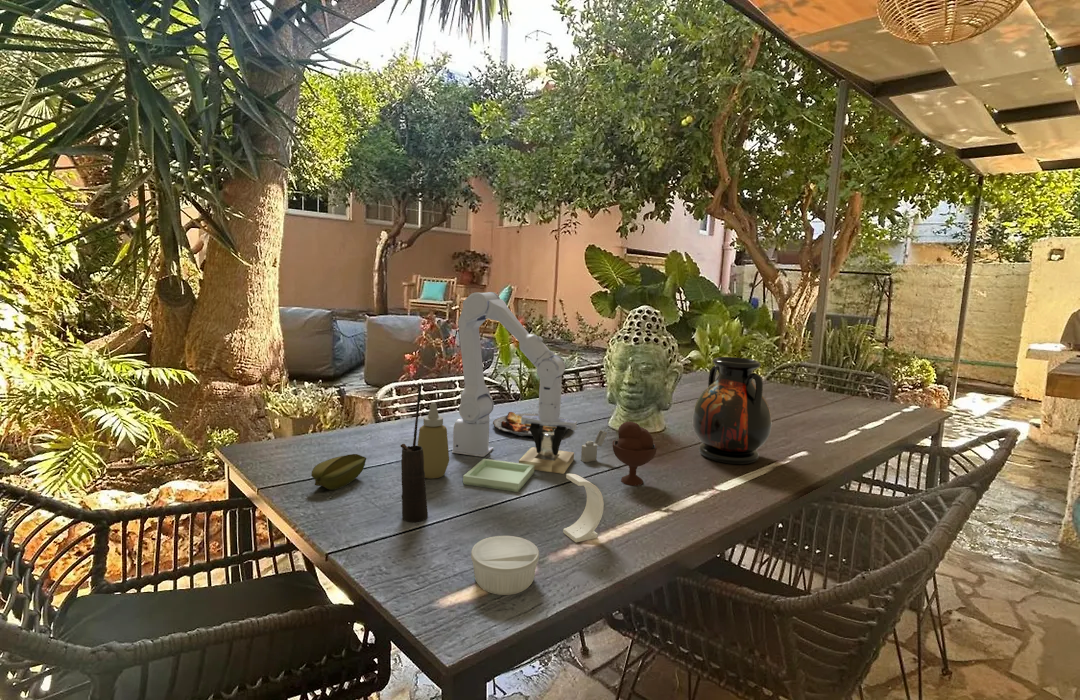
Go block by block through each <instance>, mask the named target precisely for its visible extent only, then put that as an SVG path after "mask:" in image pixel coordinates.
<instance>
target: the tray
mask: <svg viewBox="0 0 1080 700" xmlns="http://www.w3.org/2000/svg"><path fill="white" fill-rule="evenodd" d="M534 474H535V470H534V465H529V464H521V463H519V462H512V461H505V460H498V459H490V458H489V459H488V458H482V459H481V460H480V461H479V462H477V464H475V465H474V466H473V467H472V468H471V469H469V470H468V471H467V472H466V473H465V474H463V475H462V485H467V486H475V487H480V488H481V487H482V488H489V489H494V490H495V489H496V490H501V491H509V492H515V493H519V492H520V491H521V489H523V487H524V486H525V485H526V483H527V482H528V481H529V480H530V478H532V476H533V475H534Z"/></svg>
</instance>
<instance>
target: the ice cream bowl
mask: <svg viewBox="0 0 1080 700" xmlns="http://www.w3.org/2000/svg"><path fill="white" fill-rule="evenodd" d="M617 432H618V433H617V435H618V439H615V440H612V450H613V451H612V452H613V454H614V455H615V457H616V458H617V459H618V460H619V461H620V462H621V463H622V464H624V465H626V466H628V468H629V472H628V474H626V475H625V476H624V475H623V476H622V477H621V481H620V482H621V483H622V484H625V485H627V486H634V487H635V486H642V485H643V484H644V480H643V479H642V478H641V477H640V476H638V475H637V469H638V467H641V466H644V465H645V464H647V463H649V462H651V461H652V460H653V459H654V457H656V452H657V450H658V446H657V444H656V443H654V438H653V436H652V434H651V432H650V431H649V430H648V429H645V427H644V428H643V426H642V427H641V426H640V425H639V423H637V422H634V421H625V422H623V423H621V424H620V426H619V427H618V429H617Z"/></svg>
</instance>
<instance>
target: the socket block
mask: <svg viewBox="0 0 1080 700" xmlns="http://www.w3.org/2000/svg"><path fill="white" fill-rule="evenodd" d="M574 460H575V452H574V451H573V452H572V451H566V450H560V449H559V450H558V454H557V455H555V461H553V460H545V459H540V453H537V450H536V446H535V447H532V446H531V447H530V448H529V449H528V450H527V451H526V452H525V453H524V454H523V456H521V458H520V459H519V460H518V463H521V464H529V465H534V471H540V472H547V473H555V474H556V473H557V474H561V475H562V474H563V475H565V473H566V471H568V469H569V468H570V466H571V464H572V463H573V461H574Z"/></svg>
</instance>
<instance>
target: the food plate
mask: <svg viewBox="0 0 1080 700" xmlns="http://www.w3.org/2000/svg"><path fill="white" fill-rule="evenodd" d="M523 415H526V416H538V413H515V412H514V411H509V412H508V413H507V414H506V415H504V416H503V415H502V416H500V417H498V418H496V419H494V420H493V421H492V425H493V427H494V428H496V429H498V430H501V431H502V432H509V433H511V434H514V435H516V436H520V437H527V436H528V437H533V436H532V433H531V432H530V427H531V424H521V417H522V416H523ZM560 418H563V419H566V418H565V417H561V416H560ZM556 428H557V427H550V426H543V430H542V433H543V432H551V433H554V430H555V429H556ZM567 430H568V428H567Z"/></svg>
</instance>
